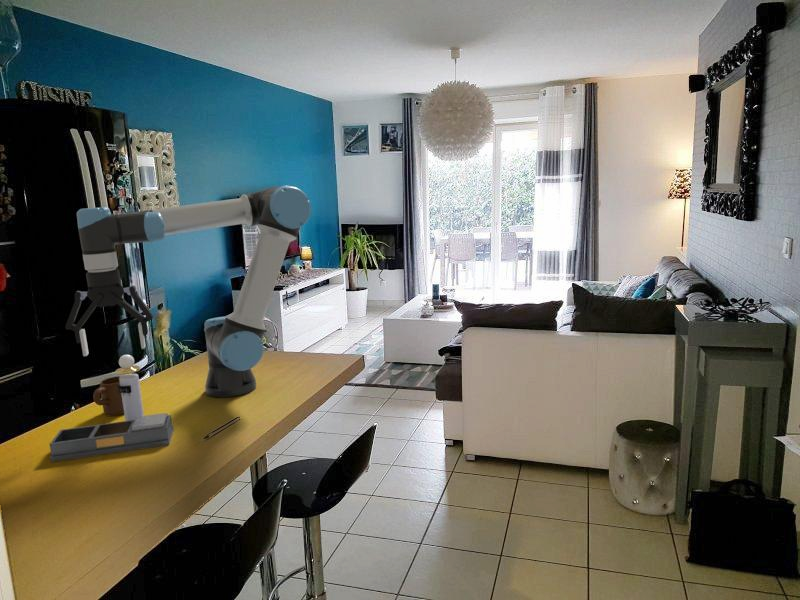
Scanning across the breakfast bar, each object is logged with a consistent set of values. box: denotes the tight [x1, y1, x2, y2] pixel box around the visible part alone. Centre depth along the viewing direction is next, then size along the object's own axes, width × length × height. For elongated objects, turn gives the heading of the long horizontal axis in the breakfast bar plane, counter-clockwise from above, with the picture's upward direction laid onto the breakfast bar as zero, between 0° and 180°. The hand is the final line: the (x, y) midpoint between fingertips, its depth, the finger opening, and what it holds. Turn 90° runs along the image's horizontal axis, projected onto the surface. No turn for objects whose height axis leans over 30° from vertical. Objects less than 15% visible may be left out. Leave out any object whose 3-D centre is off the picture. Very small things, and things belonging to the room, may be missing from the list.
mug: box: [92, 375, 124, 417], centre depth 163 cm, size 12×8×9 cm, turn 167°
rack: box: [49, 412, 175, 463], centre depth 143 cm, size 26×10×5 cm, turn 105°
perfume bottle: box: [114, 354, 145, 421], centre depth 151 cm, size 6×6×20 cm
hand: (115, 351), depth 150 cm, fingers open, 13 cm apart
